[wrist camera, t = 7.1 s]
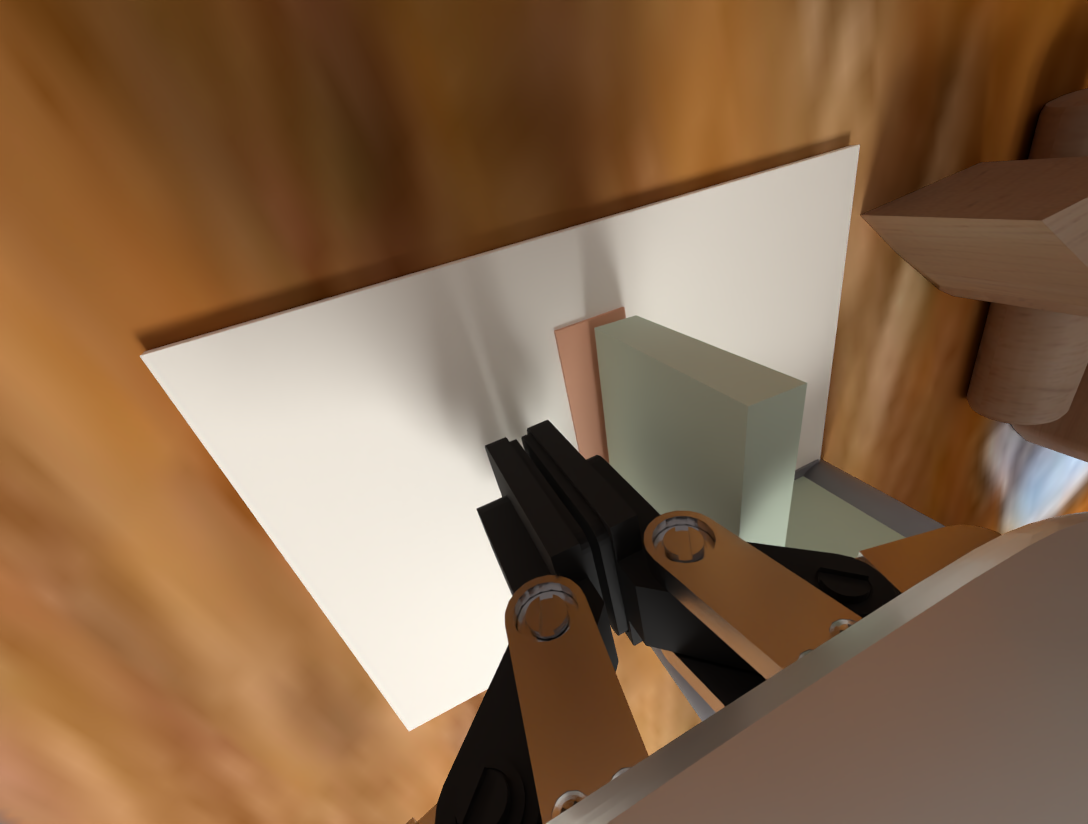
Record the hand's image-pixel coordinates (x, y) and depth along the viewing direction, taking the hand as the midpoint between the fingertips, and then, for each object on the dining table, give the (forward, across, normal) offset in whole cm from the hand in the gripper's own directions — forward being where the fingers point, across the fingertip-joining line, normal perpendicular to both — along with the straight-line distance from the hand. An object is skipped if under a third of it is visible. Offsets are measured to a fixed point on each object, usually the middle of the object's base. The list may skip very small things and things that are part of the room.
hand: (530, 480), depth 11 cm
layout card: (+2, -3, +2) cm, 4 cm away
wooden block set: (+2, -22, +4) cm, 22 cm away
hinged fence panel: (+1, -3, +1) cm, 4 cm away
